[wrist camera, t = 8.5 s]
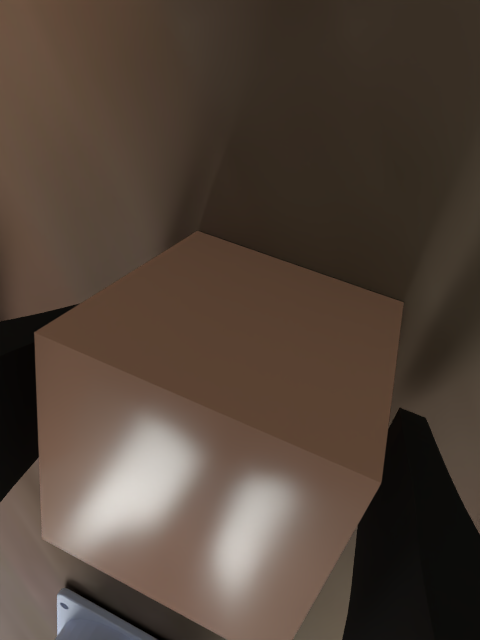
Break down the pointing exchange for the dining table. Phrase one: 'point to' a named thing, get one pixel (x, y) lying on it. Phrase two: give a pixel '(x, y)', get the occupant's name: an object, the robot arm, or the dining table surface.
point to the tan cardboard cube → (216, 431)
